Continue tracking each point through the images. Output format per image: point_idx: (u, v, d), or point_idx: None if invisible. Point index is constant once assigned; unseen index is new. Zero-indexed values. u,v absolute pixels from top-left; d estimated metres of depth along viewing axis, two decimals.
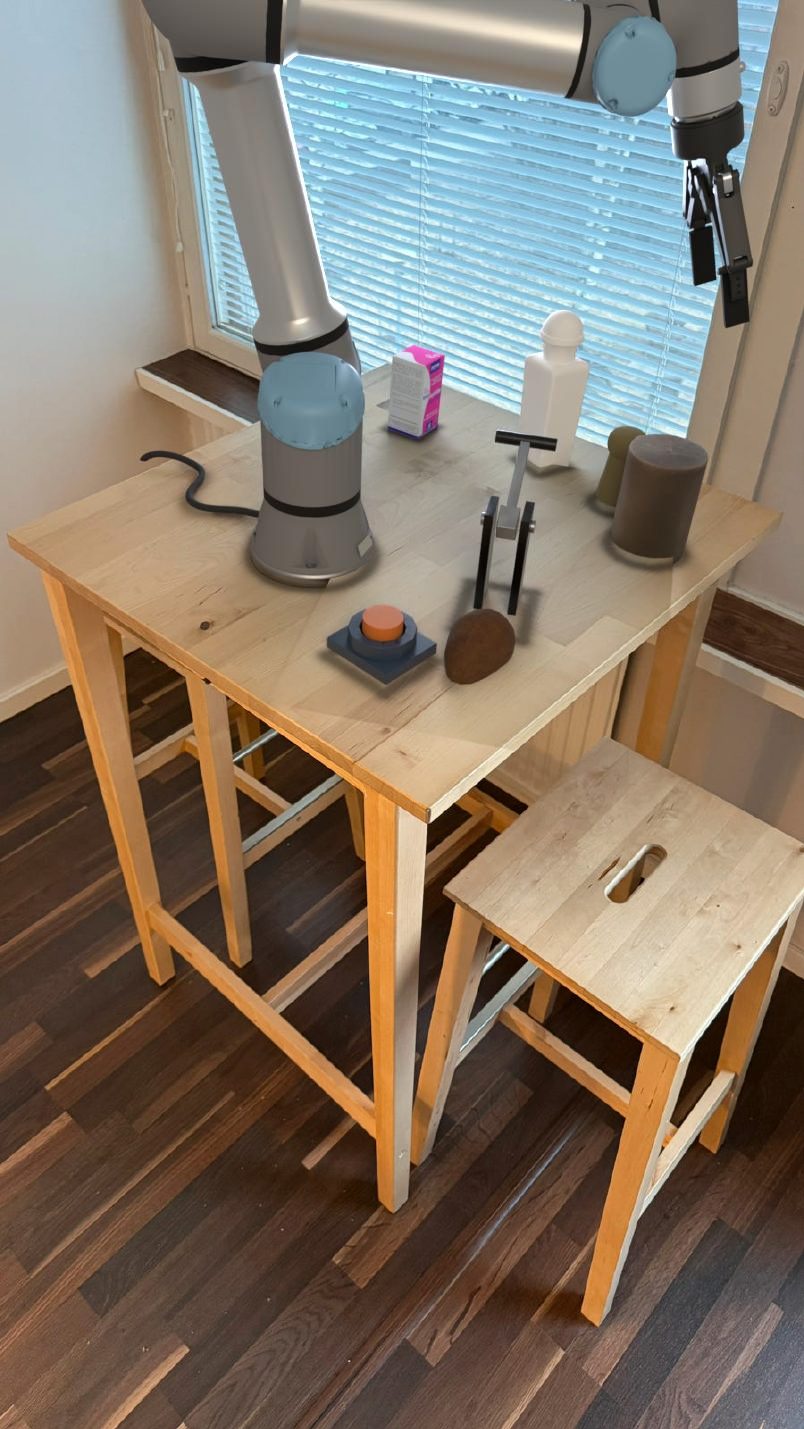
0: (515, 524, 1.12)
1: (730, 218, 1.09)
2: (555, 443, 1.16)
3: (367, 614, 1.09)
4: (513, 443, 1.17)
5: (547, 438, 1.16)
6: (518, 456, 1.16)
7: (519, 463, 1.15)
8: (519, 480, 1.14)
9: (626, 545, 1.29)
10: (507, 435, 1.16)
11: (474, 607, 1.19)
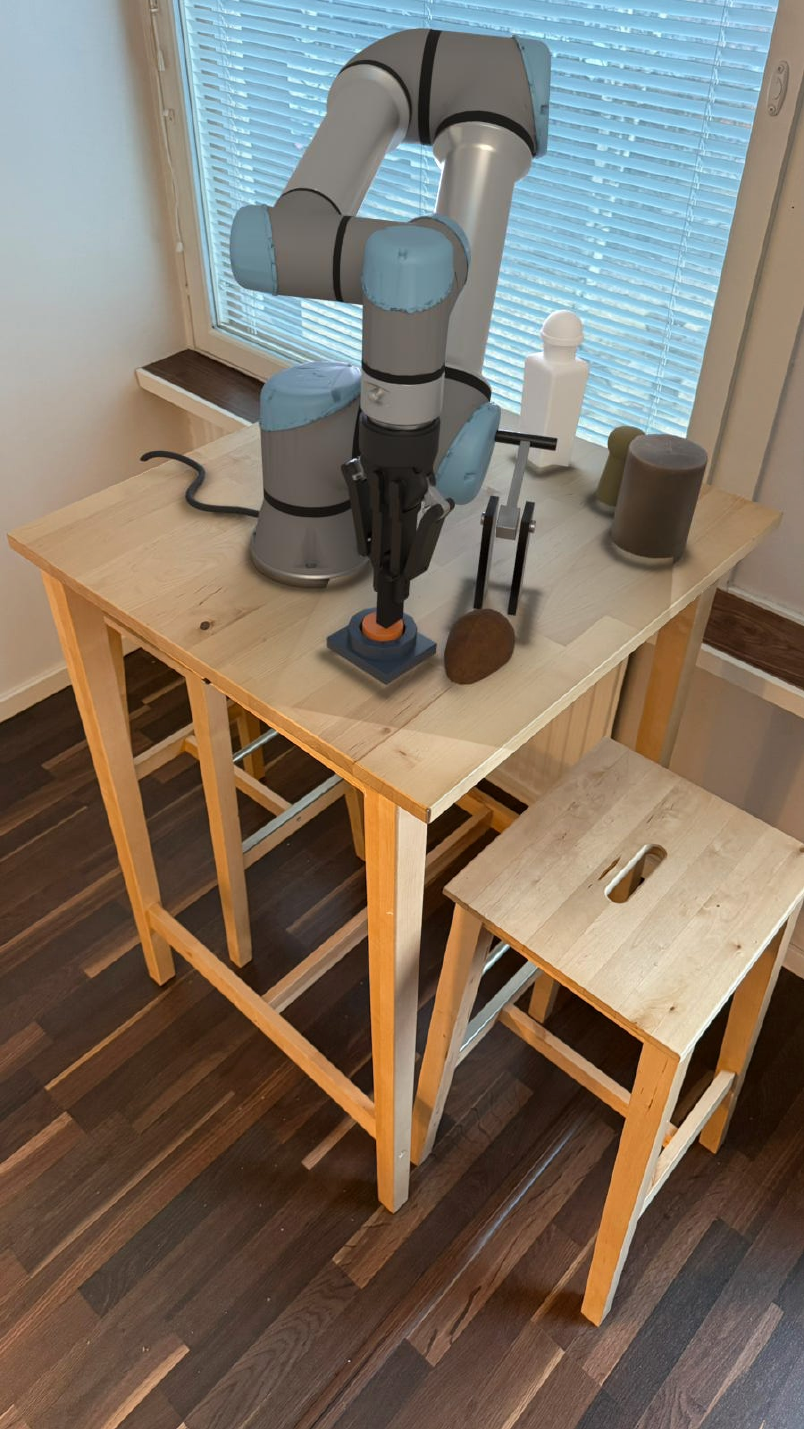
0: (515, 524, 1.12)
1: None
2: (555, 443, 1.16)
3: (367, 620, 1.10)
4: (513, 443, 1.17)
5: (547, 438, 1.16)
6: (518, 456, 1.15)
7: (519, 463, 1.15)
8: (519, 480, 1.14)
9: (626, 545, 1.29)
10: (507, 435, 1.16)
11: (474, 607, 1.19)
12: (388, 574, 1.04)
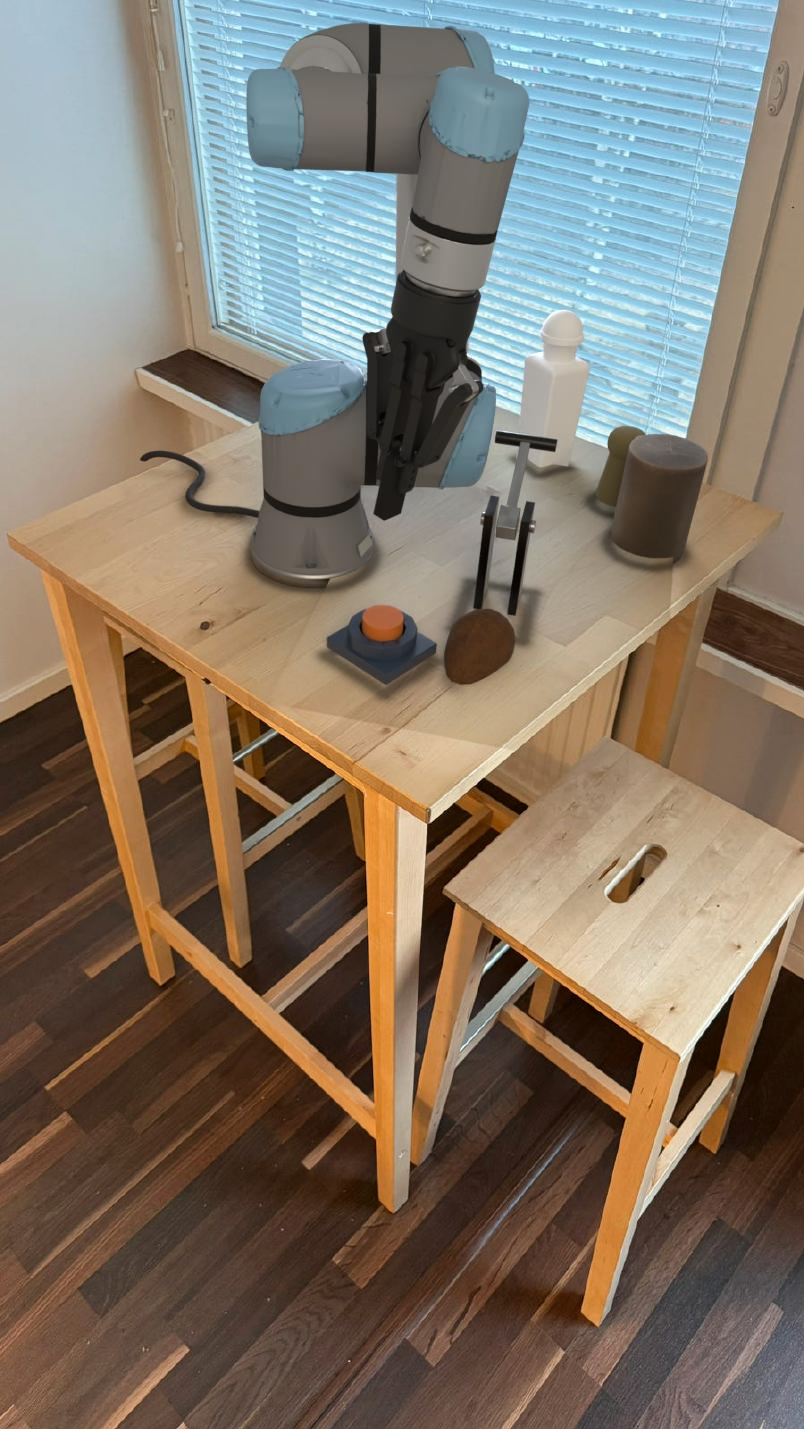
0: (515, 524, 1.12)
1: None
2: (555, 444, 1.16)
3: (367, 614, 1.09)
4: (513, 444, 1.17)
5: (547, 439, 1.16)
6: (518, 456, 1.16)
7: (519, 463, 1.15)
8: (519, 480, 1.14)
9: (626, 545, 1.29)
10: (507, 436, 1.17)
11: (474, 607, 1.19)
12: (398, 459, 0.98)
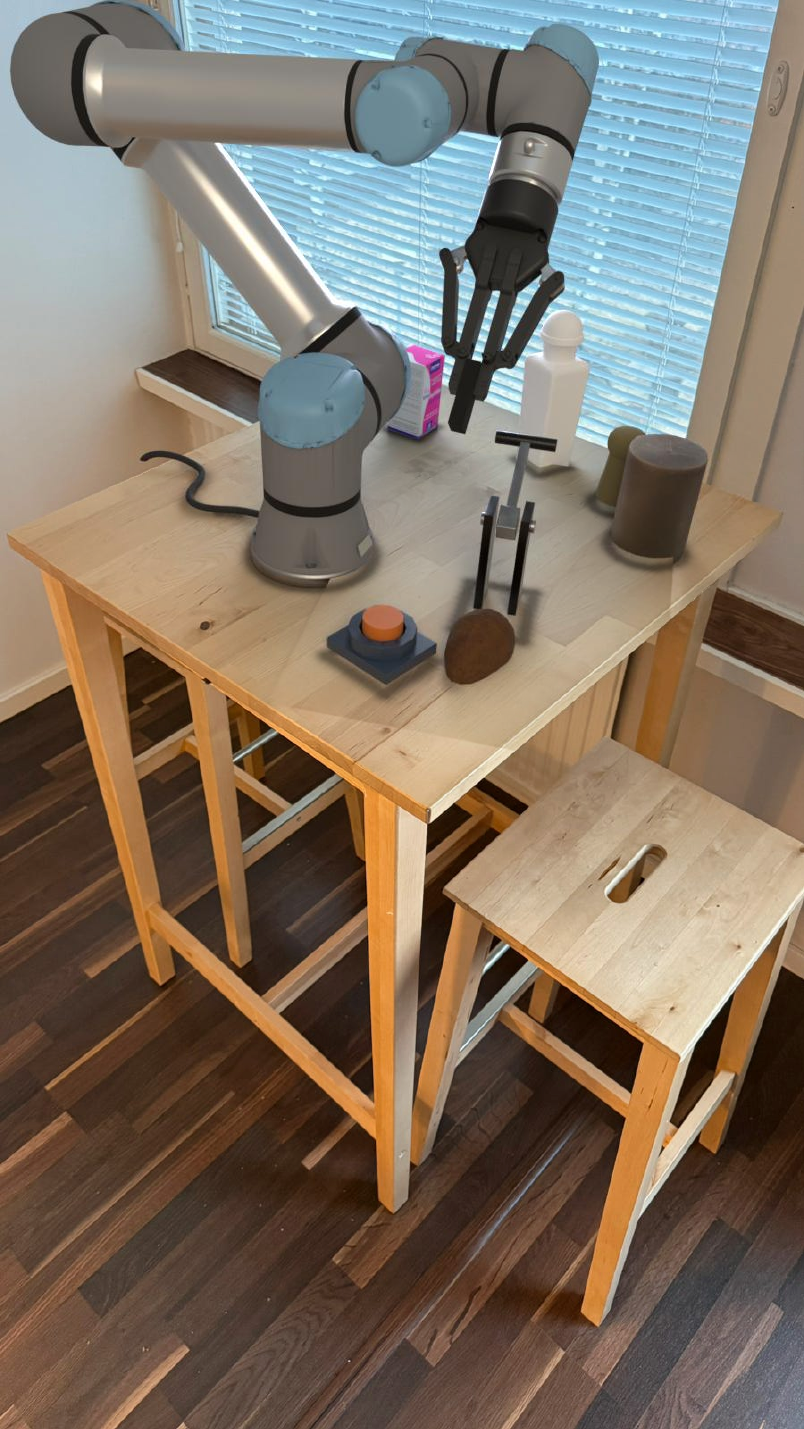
0: (515, 524, 1.12)
1: None
2: (555, 444, 1.16)
3: (367, 614, 1.09)
4: (513, 444, 1.17)
5: (547, 439, 1.16)
6: (518, 456, 1.16)
7: (519, 463, 1.15)
8: (519, 480, 1.14)
9: (626, 545, 1.29)
10: (507, 436, 1.17)
11: (474, 607, 1.19)
12: (484, 354, 0.99)
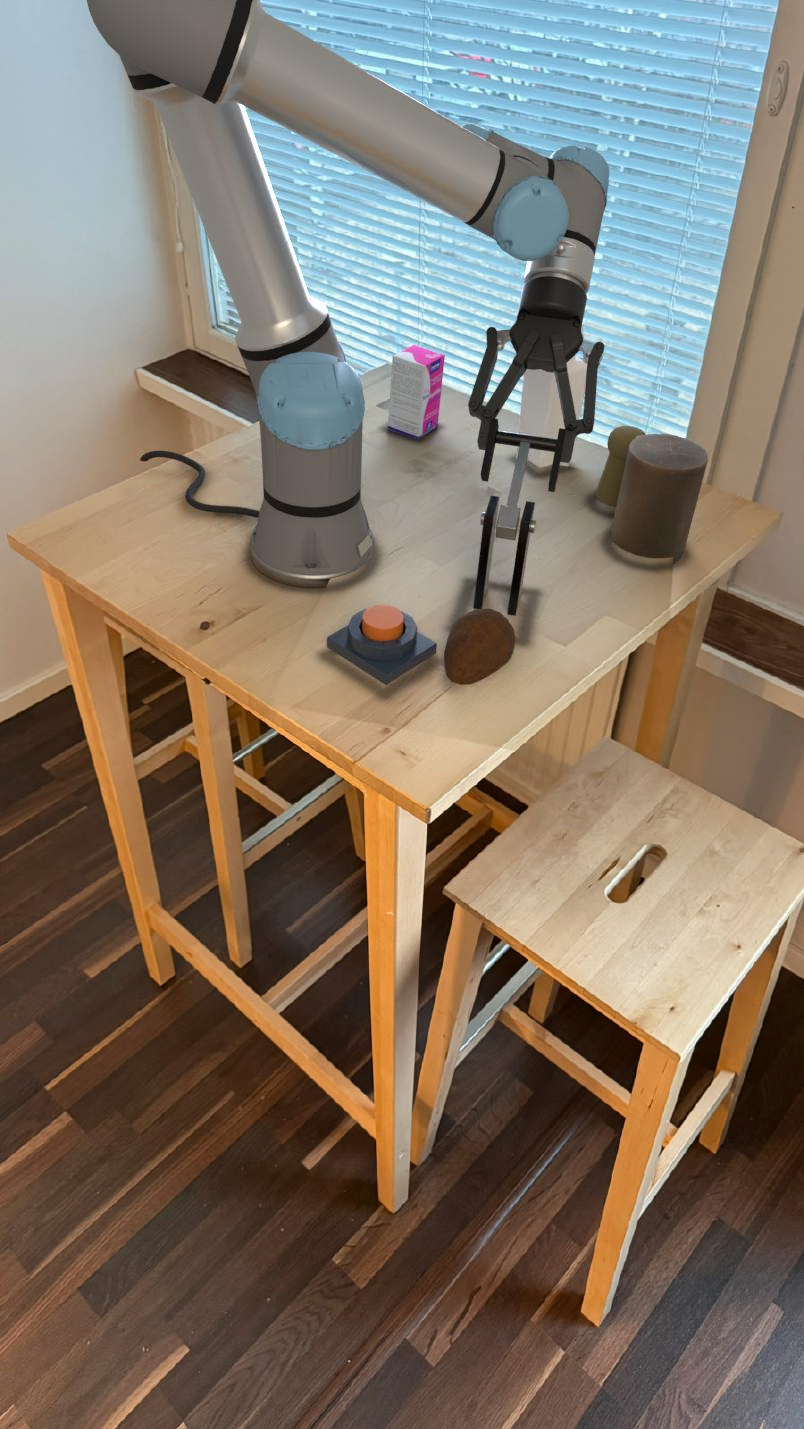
0: (515, 524, 1.12)
1: None
2: (555, 444, 1.16)
3: (367, 614, 1.09)
4: (513, 444, 1.17)
5: (547, 439, 1.16)
6: (518, 456, 1.16)
7: (519, 463, 1.15)
8: (519, 480, 1.14)
9: (626, 545, 1.29)
10: (507, 436, 1.17)
11: (474, 607, 1.19)
12: (569, 423, 1.15)
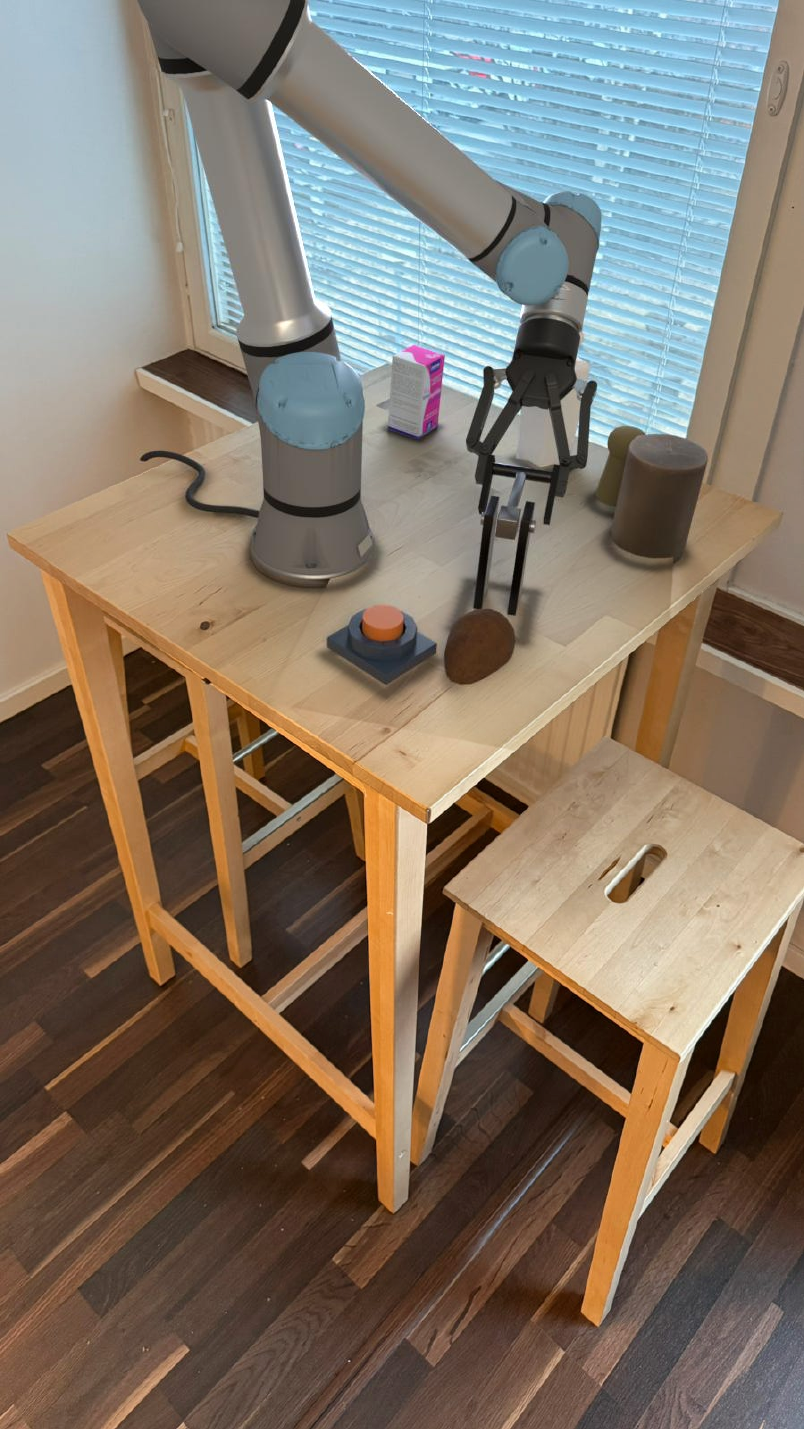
0: (516, 518, 1.12)
1: None
2: (551, 473, 1.20)
3: (367, 614, 1.09)
4: (510, 473, 1.21)
5: (543, 470, 1.20)
6: (516, 479, 1.19)
7: (517, 484, 1.18)
8: (518, 494, 1.16)
9: (626, 545, 1.29)
10: (504, 465, 1.21)
11: (474, 607, 1.19)
12: (563, 460, 1.19)
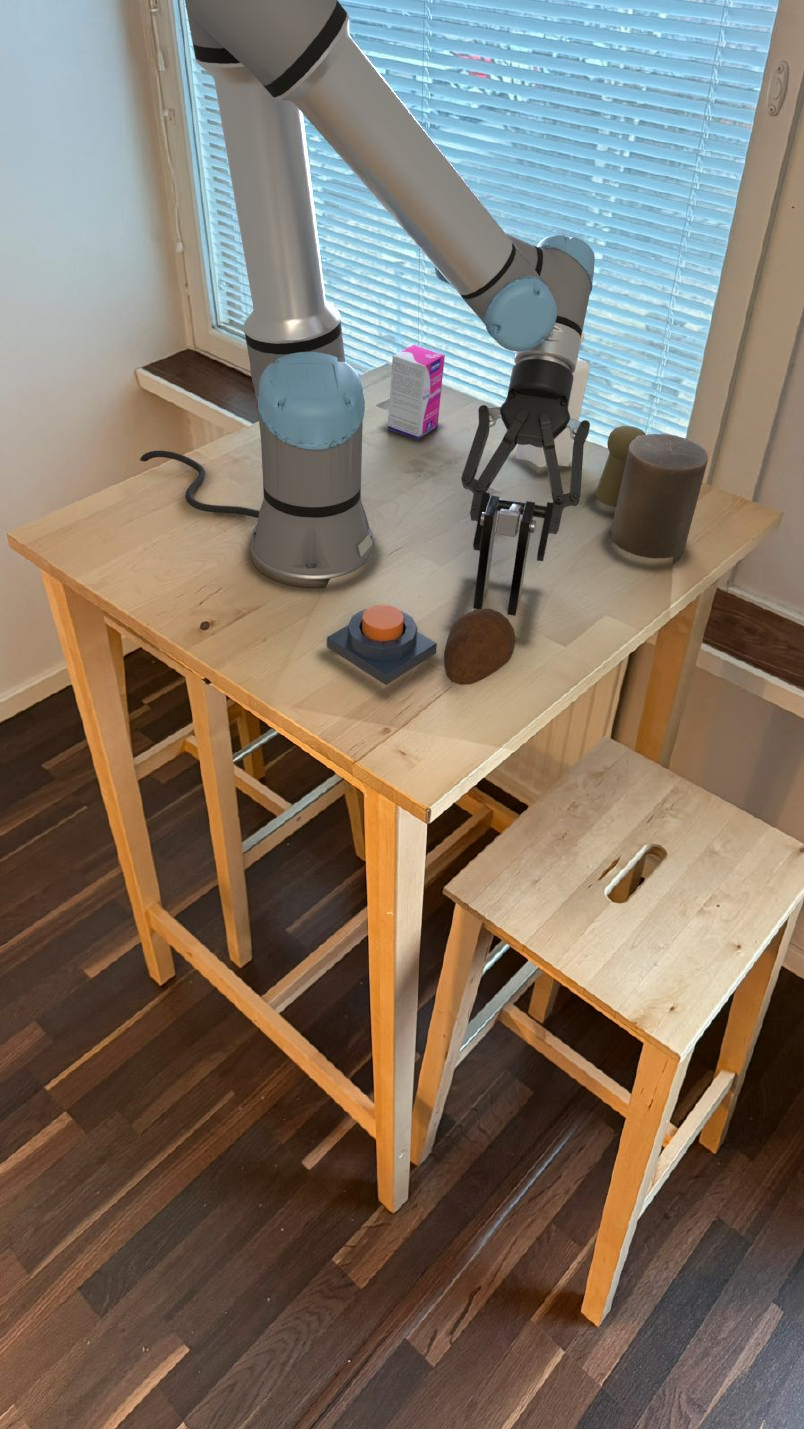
0: (517, 514, 1.12)
1: None
2: (545, 507, 1.22)
3: (367, 614, 1.09)
4: (505, 506, 1.23)
5: (537, 505, 1.23)
6: (512, 506, 1.21)
7: (513, 507, 1.20)
8: (515, 511, 1.18)
9: (626, 545, 1.29)
10: (500, 499, 1.23)
11: (474, 607, 1.19)
12: (556, 498, 1.21)
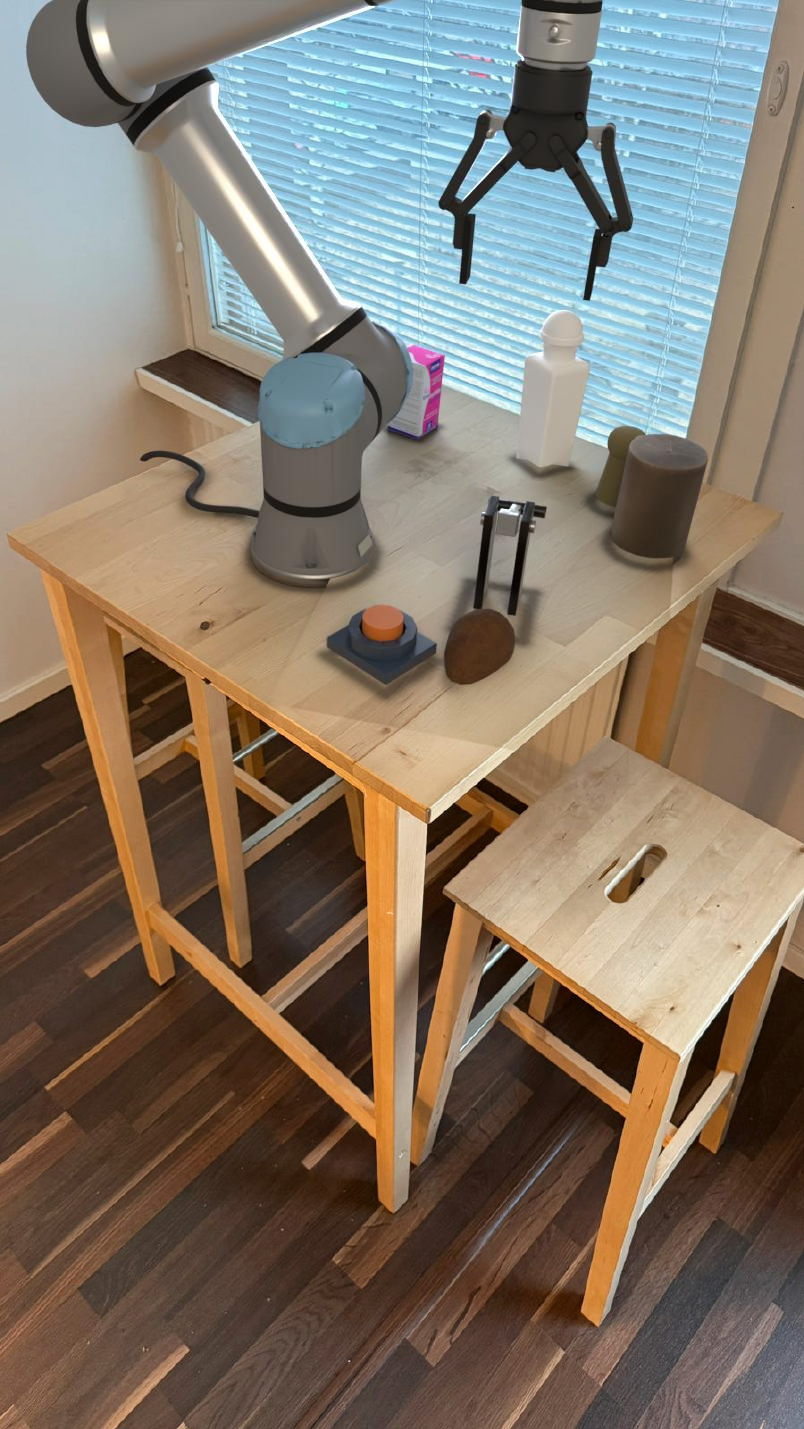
0: (517, 514, 1.12)
1: None
2: (545, 507, 1.22)
3: (367, 614, 1.09)
4: (505, 506, 1.23)
5: None
6: (512, 506, 1.21)
7: (513, 507, 1.20)
8: (515, 511, 1.18)
9: (626, 545, 1.29)
10: (500, 499, 1.23)
11: (474, 607, 1.19)
12: (604, 234, 1.05)
